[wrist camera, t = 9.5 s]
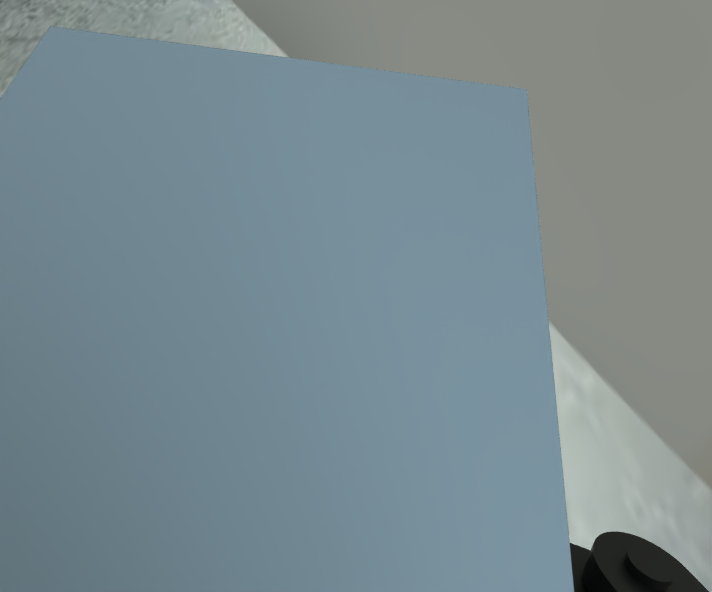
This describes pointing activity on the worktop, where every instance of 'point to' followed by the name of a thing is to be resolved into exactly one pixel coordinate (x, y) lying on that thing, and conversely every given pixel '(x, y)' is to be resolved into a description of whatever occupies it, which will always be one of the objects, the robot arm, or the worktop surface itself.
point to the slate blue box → (270, 328)
